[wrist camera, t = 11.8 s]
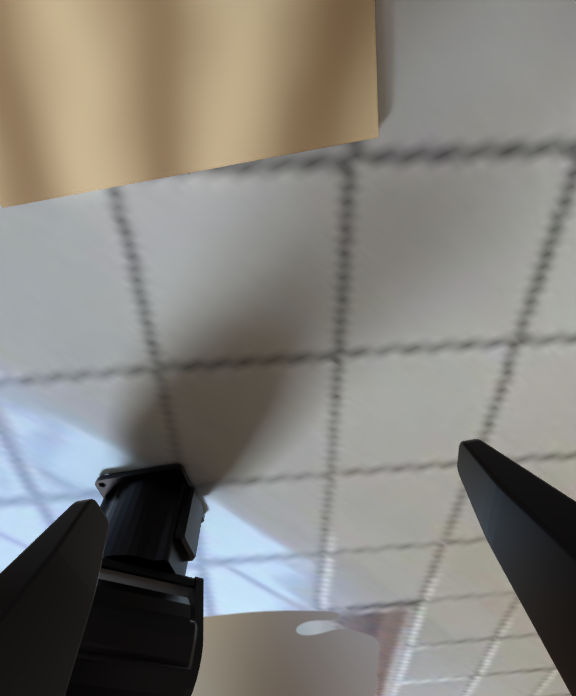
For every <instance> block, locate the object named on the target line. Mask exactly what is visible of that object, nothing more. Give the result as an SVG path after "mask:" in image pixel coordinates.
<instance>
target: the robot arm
mask: <svg viewBox="0 0 576 696" xmlns="http://www.w3.org/2000/svg"><path fill="white" fill-rule="evenodd" d="M457 468H458V472H459V475H460V478H461V480H462V483H463V485H464V487H465V490H466V492H467V495H468V497H469V499H470V502H471V504H472V506H473V509H474V511H475V514H476V516H477V518H478V521H479V523H480V526H481V528H482V530H483V532H484V535H485V537H486V539H487V541H488V543H489V545H490V547H491V549H492V550H493V552H494V554H495V556H496V558H497V560H498V561H499V563H500V565H501V567H502V569H503V571H504V572H505V574H506V576H507V578H508V580H509V582H510V583H511V585H512V587H513V589H514V591H515V593H516V594H517V596H518V598H519V600H520V602H521V604H522V605H523V607H524V609H525V611H526V613H527V615H528V616H529V618H530V620H531V622H532V624H533V626H534V627H535V629H536V631H537V633H538V635H539V637H540V638H541V640H542V642H543V644H544V646H545V648H546V649H547V651H548V653H549V655H550V657H551V659H552V660H553V662H554V664H555V666H556V668H557V670H558V672H559V673H560V675H561V677H562V679H563V681H564V683H565V684H566V686H567V688H568V690H569V692H570V694H571V695H572V696H576V501H574V500H573V499H571V498H569V497H568V496H566V495H565V494H563V493H562V492H560V491H559V490H557V489H556V488H554V487H552V486H551V485H549V484H548V483H546V482H545V481H543V480H542V479H540V478H539V477H537V476H535V475H534V474H532V473H531V472H529V471H528V470H526V469H525V468H523V467H522V466H520V465H518V464H517V463H515V462H514V461H512V460H511V459H509V458H508V457H506V456H504V455H503V454H501V453H500V452H498V451H497V450H495V449H494V448H492V447H491V446H489V445H487V444H486V443H484V442H483V441H481V440H479V439H473V440H466V441H462V442H461V443H460V445H459V453H458V462H457ZM95 485H96V487H97V489H98V490H99V492H100V493H101V495H102V496H103V498H104V499H103V501H102V503H101V506H99V505H98V504H97V502H96V501H95V500H93V499H88V500H81V501H77V502H75V503H74V504H72V505H71V506H70V507H69V508H68V509H67V510H66V511H65V512H64V513H63V514H62V515H61V516H60V517H59V518H58V519H57V520H56V521H54V522H53V523H52V524H51V525H50V526H49V527H48V528H47V529H46V530H45V531H44V532H43V533H42V534H41V535H40V536H39V537H38V538H37V539H36V540H35V541H34V542H33V543H32V544H30V545H29V546H28V547H27V548H26V549H25V550H24V551H23V552H22V553H21V554H20V555H19V556H18V557H17V558H16V559H15V560H14V561H13V562H12V563H11V564H10V565H9V566H7V567H6V568H5V569H4V570H3V571H2V572H1V573H0V696H191V694H192V692H193V689H194V686H195V683H196V679H197V676H198V671H199V667H200V662H201V657H202V649H203V578H199V577H195V578H192V577H188V576H185V574H186V569H187V563H188V561H193V559H194V558H195V557H196V551H197V545H198V539H199V533H200V527H201V523H202V522H203V521H204V517H205V514H204V512H203V510H204V507H203V505H202V503H201V501H200V498H199V496H198V494H197V492H196V489H195V488H194V487H193V486H192V485H191V483H190V481H189V479H188V476H187V474H186V472H185V470H184V468H183V466H181V465H179V464H173V465H167V466H161V467H154V468H148V469H142V470H135V471H129V472H123V473H117V474H110V475H104V476H100V477H98V479H97V481H96V483H95Z"/></svg>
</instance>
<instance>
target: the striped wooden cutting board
mask: <svg viewBox="0 0 576 696" xmlns="http://www.w3.org/2000/svg"><path fill="white" fill-rule="evenodd" d="M378 137H379V132H378V99H377V65H376V32H375V0H0V204H1V206H2V208H4V207H9V206H15V205H20V204H25V203H31V202H36V201H41V200H47V199H52V198H57V197H63V196H68V195H73V194H79V193H84V192H89V191H95V190H100V189H106V188H111V187H116V186H122V185H127V184H132V183H138V182H143V181H148V180H154V179H159V178H164V177H170V176H175V175H180V174H186V173H191V172H196V171H202V170H207V169H212V168H218V167H223V166H228V165H234V164H239V163H244V162H250V161H255V160H260V159H266V158H271V157H276V156H282V155H287V154H292V153H298V152H303V151H308V150H314V149H319V148H324V147H330V146H335V145H340V144H346V143H351V142H356V141H362V140H367V139H372V138H378Z"/></svg>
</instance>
